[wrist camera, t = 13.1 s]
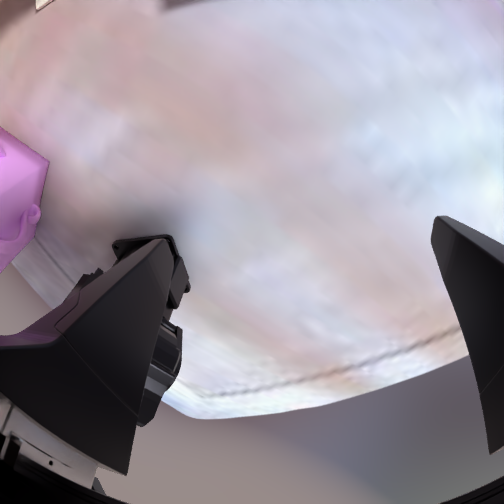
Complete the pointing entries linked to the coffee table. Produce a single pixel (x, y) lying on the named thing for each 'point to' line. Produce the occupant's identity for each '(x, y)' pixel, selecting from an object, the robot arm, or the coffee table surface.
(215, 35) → the coffee table surface
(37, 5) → the tile
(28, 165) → the teapot
